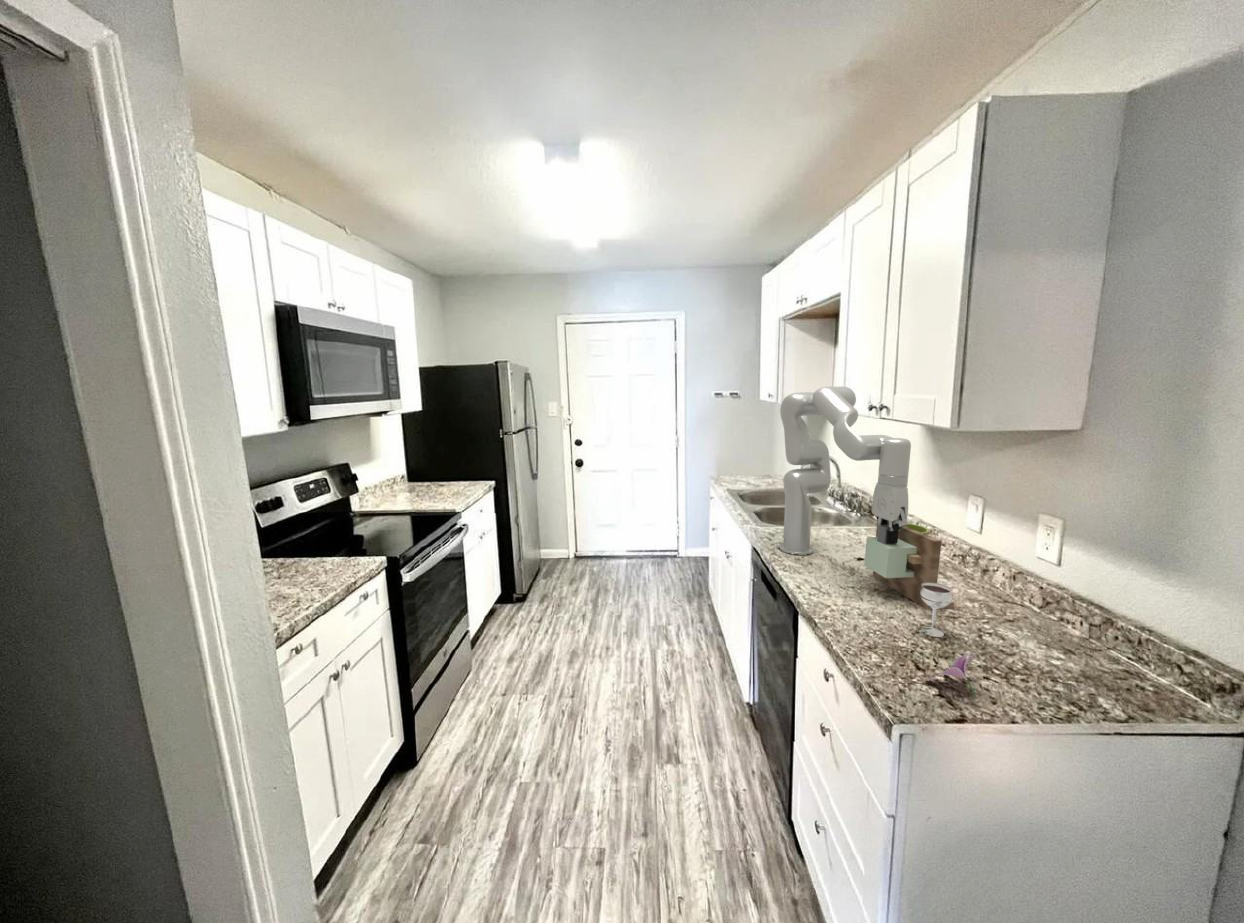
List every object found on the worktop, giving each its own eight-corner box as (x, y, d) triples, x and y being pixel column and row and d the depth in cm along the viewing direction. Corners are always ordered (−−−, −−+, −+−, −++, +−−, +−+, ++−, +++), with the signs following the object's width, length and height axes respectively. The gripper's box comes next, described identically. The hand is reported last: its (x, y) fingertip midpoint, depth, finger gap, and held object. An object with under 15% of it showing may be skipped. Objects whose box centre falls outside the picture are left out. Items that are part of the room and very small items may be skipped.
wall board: (865, 576, 154) (870, 517, 151) (895, 574, 155) (900, 516, 152) (919, 610, 131) (926, 541, 128) (953, 607, 132) (961, 539, 129)
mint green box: (864, 565, 145) (868, 521, 142) (890, 564, 146) (894, 520, 143) (885, 578, 135) (890, 531, 133) (913, 577, 136) (918, 530, 134)
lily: (978, 681, 101) (956, 636, 103) (1019, 694, 90) (993, 644, 92) (926, 699, 101) (905, 654, 103) (961, 715, 89) (937, 664, 92)
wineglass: (933, 640, 115) (938, 594, 113) (910, 627, 122) (914, 583, 120) (954, 636, 117) (959, 591, 115) (930, 623, 123) (935, 580, 122)
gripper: (863, 475, 143) (858, 533, 146) (900, 486, 127) (894, 551, 130) (885, 474, 144) (880, 532, 147) (925, 486, 128) (919, 549, 131)
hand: (887, 540), depth 139 cm, fingers closed on mint green box, 3 cm apart
